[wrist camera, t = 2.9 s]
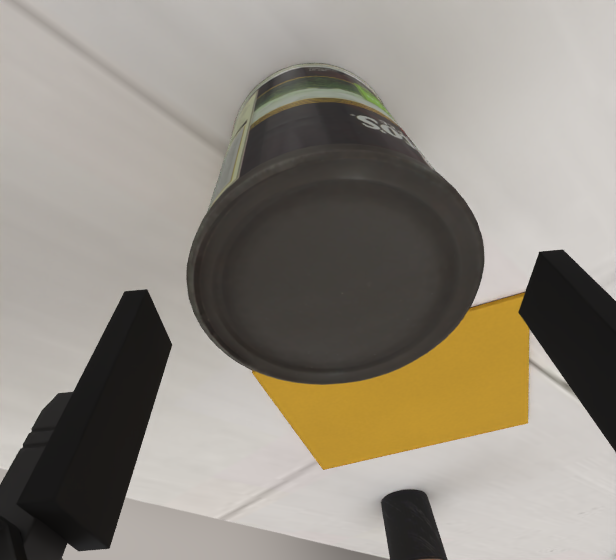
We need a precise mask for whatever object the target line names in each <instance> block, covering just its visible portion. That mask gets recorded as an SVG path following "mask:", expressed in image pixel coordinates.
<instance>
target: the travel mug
mask: <svg viewBox="0 0 616 560" xmlns="http://www.w3.org/2000/svg"><path fill="white" fill-rule="evenodd" d="M381 505H382V512H383V519H384V525H385V531H386V537H387V543H388V549H389V555H390V560H447V557H446V554H445V550H444V547H443V544H442V541H441V538H440V535H439V531H438V528H437V525H436V522H435V519H434V516H433V512H432V509H431V506H430V503H429V500H428V497H427V495H426V494H425V493H424V492H422V491H418V490H403V491H398V492H394V493H392V494H389V495H387V496H386V497H385V498H384V499H383V500H382V502H381Z"/></svg>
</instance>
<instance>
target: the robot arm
mask: <svg viewBox="0 0 616 560" xmlns="http://www.w3.org/2000/svg"><path fill="white" fill-rule="evenodd" d="M518 313H519V314H520V316H521V317H522V319H523V320H524V322H525V323H526V324H527V326H528V327H529V329H530V330H531V332H532V333H533V334H534V336H535V337H536V339H537V340H538V342H539V343H540V344H541V346H542V347H543V349H544V350H545V352H546V353H547V354H548V356H549V357H550V359H551V360H552V362H553V363H554V364H555V366H556V367H557V369H558V370H559V372H560V373H561V374H562V376H563V377H564V379H565V380H566V382H567V383H568V384H569V386H570V387H571V389H572V390H573V392H574V393H575V395H576V396H577V397H578V399H579V400H580V402H581V403H582V405H583V406H584V407H585V409H586V410H587V412H588V413H589V415H590V416H591V417H592V419H593V420H594V422H595V423H596V425H597V426H598V427H599V429H600V430H601V432H602V433H603V435H604V436H605V437H606V439H607V440H608V442H609V443H610V445H611V446H612V447H613V449H614V450H615V452H616V301H615V300H614V299H613V298H612V297H611V296H610V295H609V294H608V293H607V292H606V291H605V290H604V289H603V288H602V287H601V286H600V285H599V284H598V283H597V282H595V281H594V280H593V279H592V278H591V277H590V276H589V275H588V274H587V273H586V272H585V271H584V270H583V269H582V268H581V267H580V266H579V265H578V264H577V263H576V262H575V261H574V260H573V259H572V258H571V257H570V256H569V255H568V254H567V253H566V252H565V251H564V250H553V251H543V252H539V255H538V258H537V260H536V263H535V266H534V269H533V272H532V275H531V277H530V280H529V283H528V286H527V289H526V292H525V294H524V297H523V300H522V303H521V306H520V309H519V311H518ZM171 347H172V343H171V341H170V339H169V337H168V334H167V332H166V330H165V328H164V325H163V323H162V321H161V319H160V317H159V314H158V312H157V310H156V308H155V305H154V303H153V301H152V299H151V297H150V294H149V292H148V290H147V289H146V290H135V291H125V292H124V294H123V296H122V298H121V300H120V302H119V304H118V306H117V308H116V310H115V312H114V313H113V315H112V317H111V319H110V321H109V323H108V325H107V327H106V329H105V331H104V333H103V335H102V337H101V339H100V341H99V343H98V345H97V347H96V349H95V351H94V353H93V355H92V356H91V358H90V360H89V362H88V364H87V366H86V368H85V370H84V372H83V374H82V376H81V378H80V380H79V382H78V384H77V386H76V388H75V390H74V392H68V393H58V394H57V395H56V396H55V397H54V399H53V400H52V401H51V402H50V403H49V404H48V405H47V406H46V407H45V408H44V409H43V410H42V411H41V413H40V415H39V417H38V418H37V420H36V422H35V424H34V426H33V427H32V432H31V433H29V434H28V436H27V438H26V440H25V442H24V443H23V448H22V449H20V450H19V452H18V454H17V456H16V458H15V459H14V461H13V463H12V465H11V466H10V468H9V470H8V472H7V474H6V476H5V477H4V479H3V481H2V482H1V484H0V560H63V559H62V556H63V553H64V550H65V548H66V545H67V543H68V544H70V545H71V546H72V547H74V548H75V549H76V550H78V551H86V550H98V549H109V548H110V545H111V542H112V539H113V535H114V532H115V529H116V526H117V522H118V519H119V516H120V513H121V509H122V506H123V503H124V500H125V496H126V493H127V490H128V487H129V483H130V480H131V477H132V474H133V470H134V467H135V464H136V461H137V457H138V454H139V451H140V448H141V444H142V441H143V438H144V435H145V431H146V428H147V425H148V422H149V418H150V415H151V412H152V409H153V405H154V402H155V399H156V396H157V392H158V389H159V386H160V383H161V379H162V376H163V373H164V370H165V366H166V363H167V360H168V357H169V353H170V350H171Z"/></svg>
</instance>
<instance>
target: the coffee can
mask: <svg viewBox="0 0 616 560" xmlns="http://www.w3.org/2000/svg"><path fill="white" fill-rule="evenodd" d="M483 268H484V246H483V239H482V235H481V232H480V230H479V226H478V223H477V221H476V219H475V217H474V215H473V213H472V211H471V210H470V208H469V206H468V205H467V203H466V202H465V200H464V199H463V198H462V197H461V195H460V194H459V193H458V192H457V191H456V189H455V188H454V187H453V186H452V185H451V184H450V183H448V182H447V181H446V180H445V179H444V178H443V177H442V176H441V175H440V174H438V173H437V172H436V171H435V170H434V168H433V167H432V166H431V165H430V164H429V163H428V161H427V160H426V159H425V157H424V156H423V155H422V154H421V152H420V151H419V150H418V149H417V147H416V146H415V145H414V144H413V142H412V141H411V140H410V139H409V137H408V136H407V135H406V134H405V132H404V131H403V130H402V129H401V128H400V126H399V125H398V124H397V123H396V121H395V120H394V119H393V117H392V116H391V115H390V114H389V112H388V111H387V110H386V109H385V107H384V106H383V104H382V102H381V100H380V99H379V97H378V96H377V94H376V93H375V92H374V91H373V90H372V88H371V87H370V86H368V85H367V84H366V83H365V82H364V81H363V80H362V79H360V78H359V77H357V76H356V75H354V74H352V73H350V72H348V71H346V70H344V69H341V68H339V67H336V66H332V65H327V64H320V63H309V64H300V65H295V66H291V67H288V68H286V69H283V70H280V71H278V72H276V73H275V74H273V75H271V76H270V77H268V78H267V79H265V80H264V81H262V82H261V83H260V84H259V85H257V86H256V87H255V88H254V90H253V91H252V92H251V93H250V94H249V96H248V97H247V98H246V100H245V101H244V103H243V105H242V106H241V108H240V110H239V113H238V115H237V117H236V120H235V123H234V127H233V132H232V137H231V140H230V143H229V146H228V149H227V152H226V155H225V158H224V161H223V164H222V168H221V171H220V174H219V177H218V181H217V184H216V187H215V189H214V192H213V195H212V199H211V202H210V205H209V208H208V211H207V214H206V215H205V217H204V219H203V220H202V222H201V224H200V227H199V229H198V231H197V233H196V235H195V238H194V240H193V243H192V247H191V250H190V254H189V258H188V263H187V288H188V295H189V300H190V303H191V306H192V309H193V312H194V314H195V316H196V318H197V320H198V322H199V324H200V325H201V327H202V329H203V330H204V331H205V333H206V334H207V336H208V337H209V338H210V339H211V340H212V341H213V342H214V343H215V344H216V346H217V347H218V348H220V349H221V350H222V351H223V352H224V353H225V354H227V355H228V356H229V357H231V358H232V359H233V360H235V361H236V362H238V363H239V364H241V365H243V366H245V367H247V368H249V369H251V370H253V371H256V372H258V373H260V374H263V375H266V376H269V377H272V378H276V379H279V380H284V381H289V382H294V383H302V384H317V385H329V384H343V383H350V382H357V381H363V380H367V379H371V378H375V377H378V376H381V375H384V374H388V373H390V372H392V371H395V370H397V369H400V368H402V367H404V366H406V365H408V364H410V363H412V362H413V361H415V360H417V359H419V358H420V357H422V356H423V355H425V354H427V353H428V352H429V351H431V350H432V349H434V348H435V347H436V346H437V345H439V344H440V343H441V342H442V341H444V340H445V339H446V338H447V337H448V336H449V335H450V334H451V333H452V332H453V331H454V330H455V328H456V327H457V326H458V325H459V324H460V322H461V320H463V319H464V316H465V315H466V313H467V311H468V310H469V308H470V307H471V305H472V303H473V301H474V299H475V296H476V294H477V291H478V289H479V285H480V282H481V279H482V273H483Z"/></svg>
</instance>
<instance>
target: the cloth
mask: <svg viewBox="0 0 616 560" xmlns="http://www.w3.org/2000/svg"><path fill="white" fill-rule="evenodd" d="M524 294H525V293H521V294H518V295H514V296H511V297H507V298H504V299H500V300H497V301H493V302H489V303H486V304H482V305H479V306H475V307H472V308H469V310H468V311H467V313H466V315H465V316H464V319H463V320H461V322H460V324H459V325H458V326H457V327H456V328H455V330H454V331H453V332H452V333H451V334H450V335H449V336H448V337H447V338H446V339H445V340H444V341H442V342H441V343H440V344H439V345H437V346H436V347H435V348H434V349H432V350H431V351H429V352H428V353H427V354H425V355H423V356H422V357H420V358H419V359H417V360H415V361H413V362H412V363H410V364H408V365H406V366H404V367H402V368H400V369H397V370H395V371H392V372H390V373H388V374H384V375H381V376H378V377H375V378H371V379H367V380H363V381H357V382H350V383H343V384H329V385H317V384H302V383H294V382H289V381H284V380H279V379H276V378H272V377H269V376H266V375H263V374H260V373H258V372H256V371H253V370H252V373H253V375H254V376H255V377H256V379H257V380H258V381H259V383H260V384H261V386H262V387H263V388H264V390H265V391H266V392H267V394H268V395H269V396H270V398H271V399H272V401H273V402H274V403H275V405H276V406H277V407H278V409H279V410H280V411H281V413H282V414H283V416H284V417H285V418H286V420H287V421H288V422H289V424H290V425H291V426H292V428H293V429H294V431H295V432H296V433H297V435H298V436H299V437H300V439H301V440H302V442H303V443H304V444H305V446H306V447H307V448H308V450H309V451H310V452H311V454H312V455H313V457H314V458H315V459H316V461H317V462H318V463H319V465H320V466H321V467H322V469H323V470H325V469H329V468H334V467H338V466H342V465H347V464H351V463H356V462H360V461H364V460H369V459H373V458H378V457H382V456H386V455H391V454H395V453H399V452H404V451H408V450H413V449H417V448H421V447H426V446H430V445H435V444H439V443H443V442H448V441H452V440H457V439H461V438H465V437H470V436H474V435H478V434H483V433H487V432H492V431H496V430H500V429H505V428H509V427H514V426H518V425H522V424H527V423H528V383H529V327H528V326H527V324H526V323H525V322H524V320H523V319H522V317H521V316H520V314H519V313H518V311H519V309H520V306H521V303H522V300H523V297H524Z"/></svg>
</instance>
